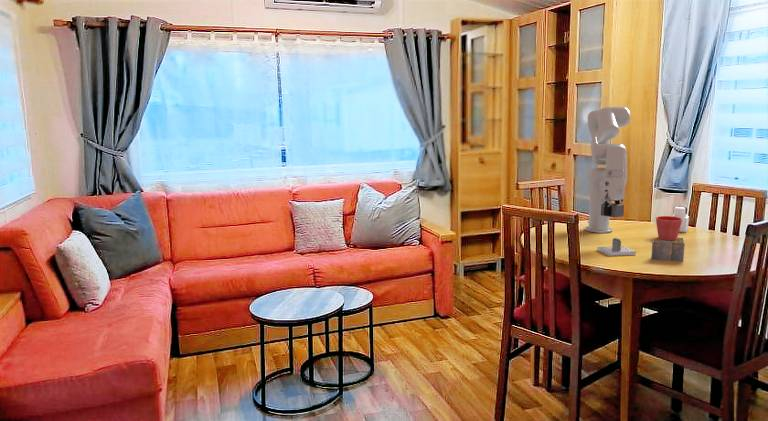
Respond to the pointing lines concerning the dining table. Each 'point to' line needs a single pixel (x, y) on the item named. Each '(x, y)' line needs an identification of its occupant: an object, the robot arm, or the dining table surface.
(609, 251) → the post
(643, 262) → the dining table surface
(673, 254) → the ruin model on sheet
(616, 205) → the gray rectangular sleeve
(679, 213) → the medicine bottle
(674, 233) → the flower pot
